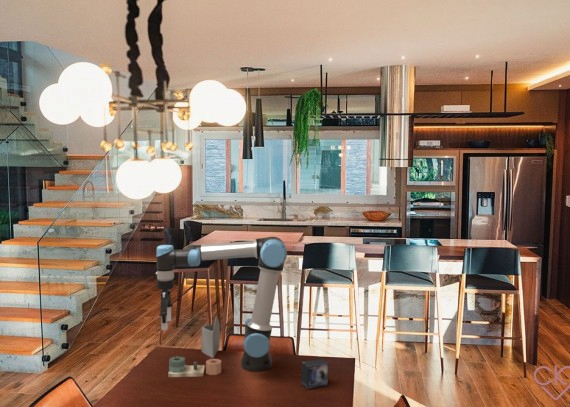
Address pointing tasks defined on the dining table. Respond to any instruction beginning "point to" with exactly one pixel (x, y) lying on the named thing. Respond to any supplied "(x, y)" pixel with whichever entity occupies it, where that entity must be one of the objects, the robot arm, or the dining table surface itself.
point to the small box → (314, 374)
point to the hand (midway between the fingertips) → (166, 325)
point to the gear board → (189, 372)
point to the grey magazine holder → (211, 338)
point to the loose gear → (213, 366)
